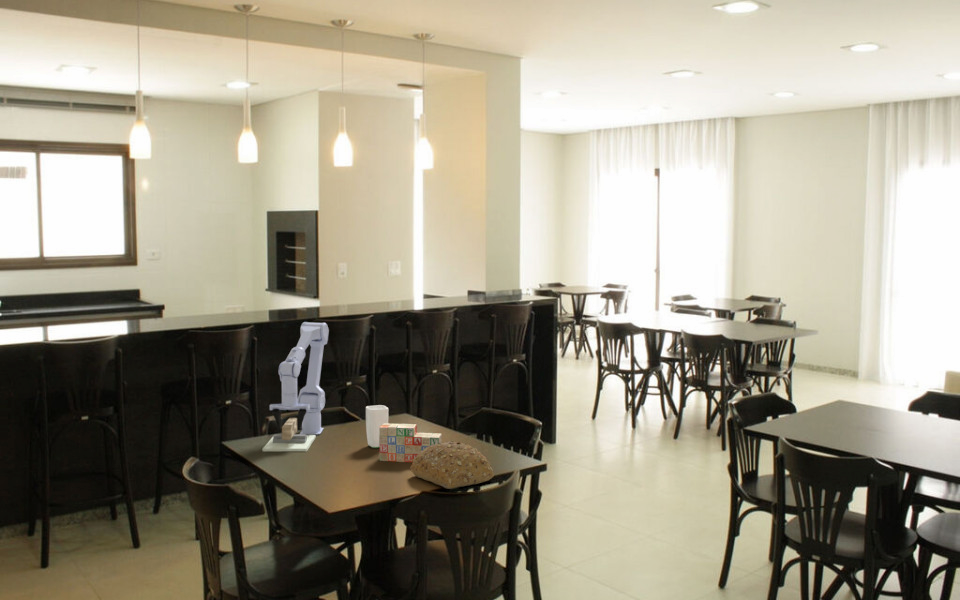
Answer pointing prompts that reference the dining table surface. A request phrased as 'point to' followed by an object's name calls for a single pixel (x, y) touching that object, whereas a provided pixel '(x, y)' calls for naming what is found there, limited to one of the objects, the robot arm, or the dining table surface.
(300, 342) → the robot arm
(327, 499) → the dining table surface
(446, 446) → the bread
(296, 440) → the fulcrum stand
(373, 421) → the cup
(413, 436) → the stack of blocks
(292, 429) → the beech rod
